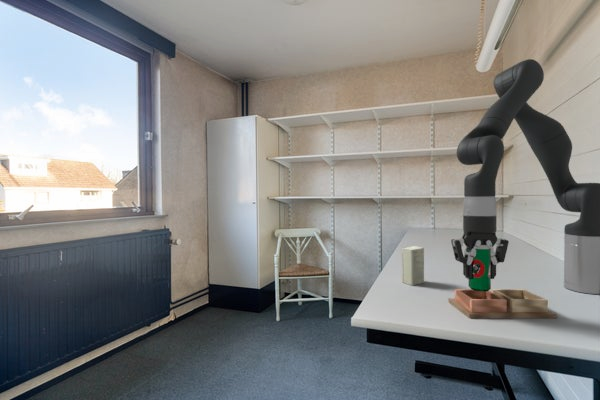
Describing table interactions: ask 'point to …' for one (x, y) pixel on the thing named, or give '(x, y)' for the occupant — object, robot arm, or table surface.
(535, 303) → the can rack
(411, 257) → the skincare box
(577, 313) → the table surface
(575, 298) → the table surface
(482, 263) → the soda can
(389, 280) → the table surface
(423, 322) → the table surface
